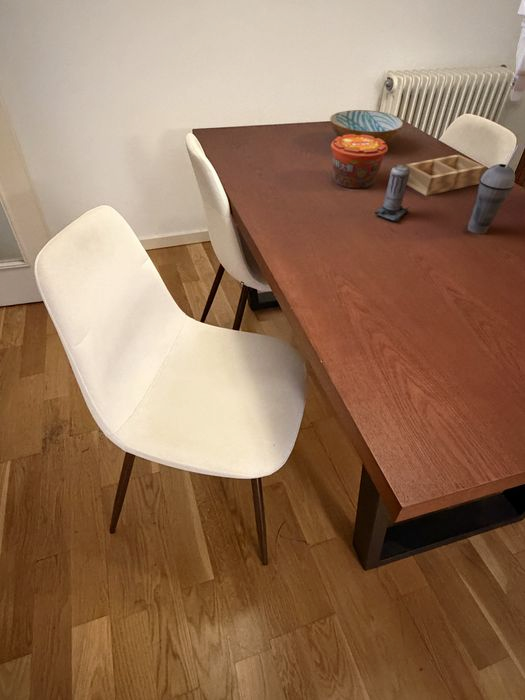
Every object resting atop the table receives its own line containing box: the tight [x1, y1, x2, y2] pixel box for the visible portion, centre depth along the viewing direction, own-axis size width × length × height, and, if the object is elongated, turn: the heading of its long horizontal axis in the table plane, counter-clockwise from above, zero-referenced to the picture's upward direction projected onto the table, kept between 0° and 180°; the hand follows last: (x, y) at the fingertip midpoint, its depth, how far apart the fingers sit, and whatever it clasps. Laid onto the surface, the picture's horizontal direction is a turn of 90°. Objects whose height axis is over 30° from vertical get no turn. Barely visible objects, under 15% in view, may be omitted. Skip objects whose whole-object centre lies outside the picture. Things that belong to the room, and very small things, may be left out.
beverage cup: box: [467, 144, 521, 235], centre depth 93 cm, size 7×7×20 cm
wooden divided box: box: [404, 154, 486, 197], centre depth 119 cm, size 21×11×5 cm, turn 115°
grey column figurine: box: [374, 164, 410, 223], centre depth 101 cm, size 9×8×12 cm
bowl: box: [329, 109, 405, 145], centre depth 141 cm, size 25×25×8 cm
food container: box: [330, 134, 389, 190], centre depth 117 cm, size 16×16×11 cm
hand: (514, 94), depth 79 cm, fingers open, 8 cm apart
